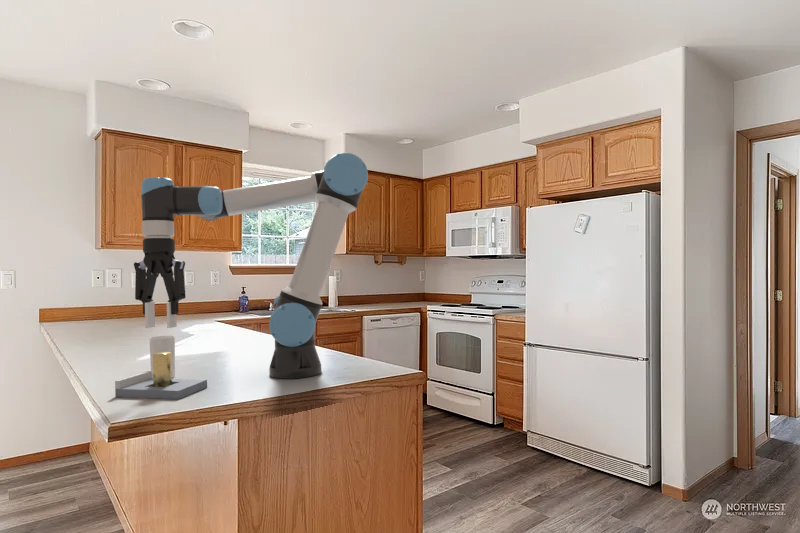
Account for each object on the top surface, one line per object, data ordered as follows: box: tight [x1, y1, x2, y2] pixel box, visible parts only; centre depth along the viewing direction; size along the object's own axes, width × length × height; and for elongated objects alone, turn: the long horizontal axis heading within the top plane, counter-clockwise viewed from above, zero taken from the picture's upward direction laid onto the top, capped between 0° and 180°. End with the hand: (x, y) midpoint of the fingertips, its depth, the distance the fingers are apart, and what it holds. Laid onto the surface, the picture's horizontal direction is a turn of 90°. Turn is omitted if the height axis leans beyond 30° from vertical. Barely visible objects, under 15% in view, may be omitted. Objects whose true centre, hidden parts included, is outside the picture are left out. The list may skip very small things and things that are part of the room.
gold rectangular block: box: [153, 352, 173, 387], centre depth 132 cm, size 4×4×10 cm
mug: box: [149, 335, 176, 379], centre depth 152 cm, size 10×7×12 cm, turn 5°
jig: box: [114, 370, 208, 400], centre depth 132 cm, size 18×12×4 cm, turn 78°
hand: (161, 327), depth 132 cm, fingers open, 6 cm apart
